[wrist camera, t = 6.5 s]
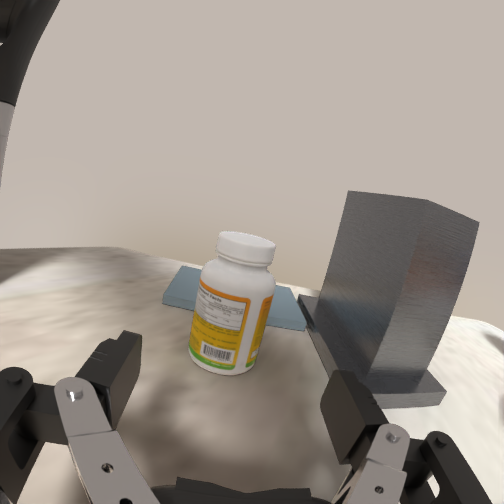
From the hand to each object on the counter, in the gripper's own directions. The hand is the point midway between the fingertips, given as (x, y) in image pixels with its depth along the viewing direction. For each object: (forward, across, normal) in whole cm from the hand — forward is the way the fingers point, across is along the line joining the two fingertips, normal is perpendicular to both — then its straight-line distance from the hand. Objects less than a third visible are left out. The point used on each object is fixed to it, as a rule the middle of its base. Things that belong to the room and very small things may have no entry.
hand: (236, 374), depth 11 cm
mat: (+24, -1, +6) cm, 24 cm away
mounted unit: (+15, -14, +6) cm, 22 cm away
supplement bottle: (+10, 0, +6) cm, 12 cm away
